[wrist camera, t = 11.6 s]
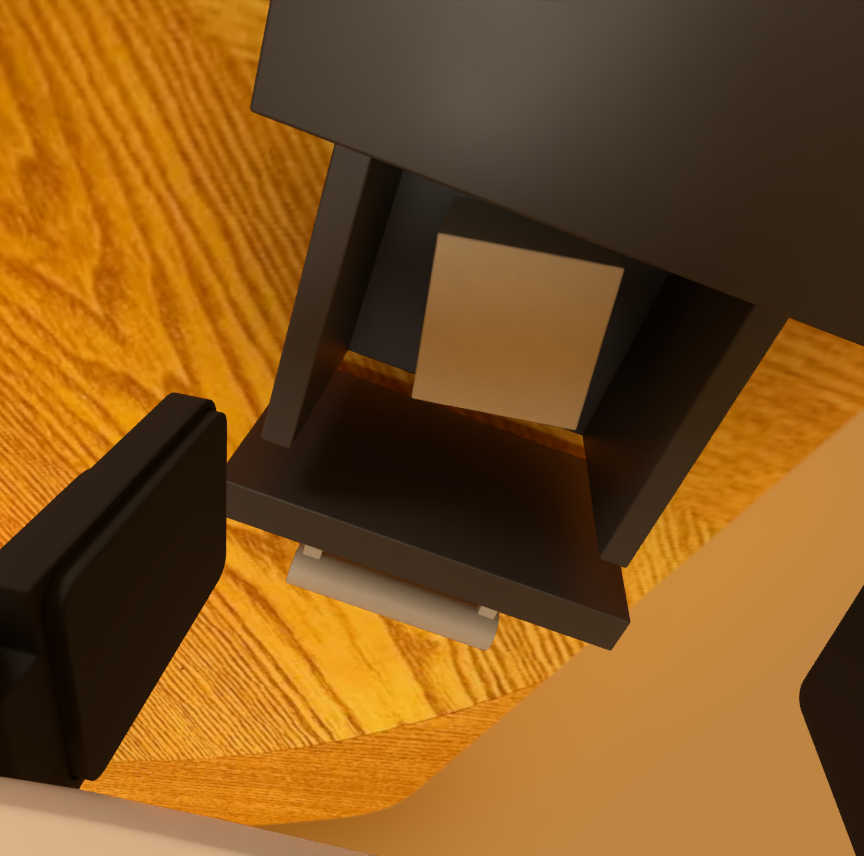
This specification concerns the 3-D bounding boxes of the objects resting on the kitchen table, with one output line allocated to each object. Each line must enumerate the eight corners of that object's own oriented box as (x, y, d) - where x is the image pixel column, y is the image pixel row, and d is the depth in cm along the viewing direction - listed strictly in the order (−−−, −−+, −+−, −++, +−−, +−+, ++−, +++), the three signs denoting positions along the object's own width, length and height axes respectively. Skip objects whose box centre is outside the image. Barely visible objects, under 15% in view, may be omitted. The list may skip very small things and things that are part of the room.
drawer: (544, 570, 28) (549, 741, 21) (270, 473, 27) (185, 618, 21) (802, 117, 19) (951, 159, 13) (409, -41, 19) (339, -88, 12)
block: (606, 224, 20) (625, 268, 16) (567, 363, 23) (576, 431, 19) (454, 195, 20) (437, 232, 16) (431, 337, 23) (410, 398, 19)
